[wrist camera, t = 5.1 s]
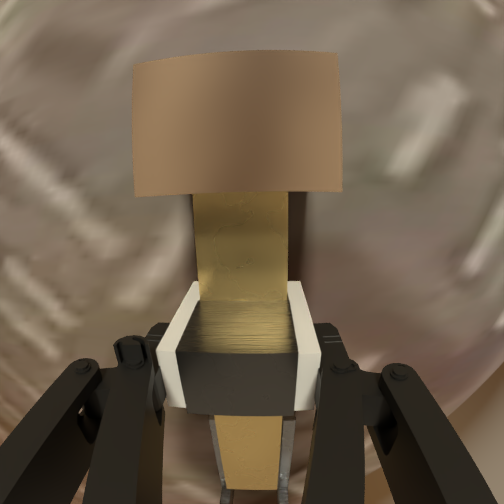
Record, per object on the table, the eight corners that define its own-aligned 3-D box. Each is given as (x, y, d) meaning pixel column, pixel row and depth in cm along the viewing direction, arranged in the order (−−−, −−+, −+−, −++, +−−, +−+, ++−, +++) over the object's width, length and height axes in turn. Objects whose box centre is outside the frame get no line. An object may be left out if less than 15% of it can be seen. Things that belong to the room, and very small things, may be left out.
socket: (187, 182, 18) (134, 197, 10) (185, 103, 17) (133, 64, 9) (308, 180, 18) (342, 191, 10) (306, 98, 16) (337, 53, 9)
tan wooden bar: (230, 443, 23) (220, 529, 14) (210, 170, 17) (155, 177, 8) (277, 444, 22) (279, 531, 14) (282, 168, 16) (303, 172, 8)
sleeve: (226, 480, 26) (220, 534, 19) (213, 397, 23) (198, 469, 15) (285, 481, 26) (287, 535, 19) (293, 397, 22) (300, 471, 15)
